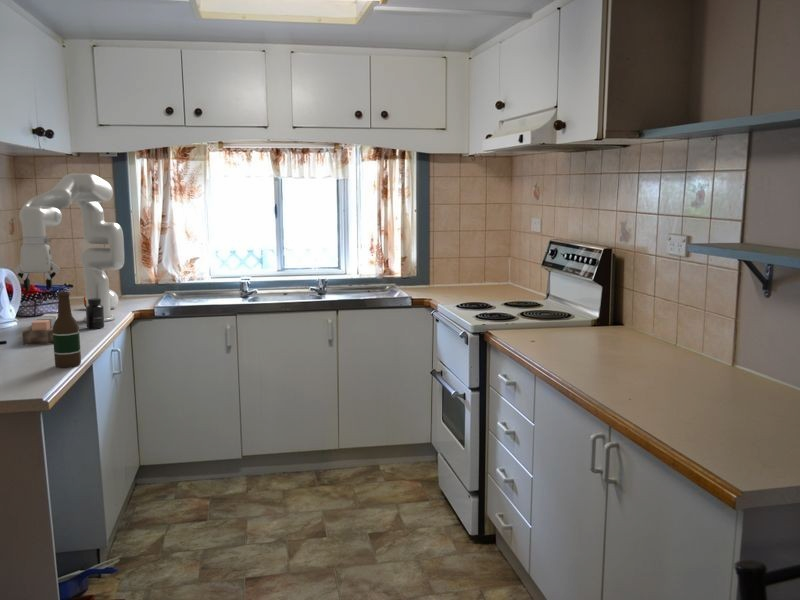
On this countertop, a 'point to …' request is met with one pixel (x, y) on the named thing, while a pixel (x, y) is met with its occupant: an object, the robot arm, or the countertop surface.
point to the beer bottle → (66, 335)
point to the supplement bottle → (94, 314)
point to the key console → (37, 336)
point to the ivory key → (51, 316)
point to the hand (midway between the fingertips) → (38, 289)
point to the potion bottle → (112, 299)
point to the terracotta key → (40, 325)
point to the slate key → (48, 319)
